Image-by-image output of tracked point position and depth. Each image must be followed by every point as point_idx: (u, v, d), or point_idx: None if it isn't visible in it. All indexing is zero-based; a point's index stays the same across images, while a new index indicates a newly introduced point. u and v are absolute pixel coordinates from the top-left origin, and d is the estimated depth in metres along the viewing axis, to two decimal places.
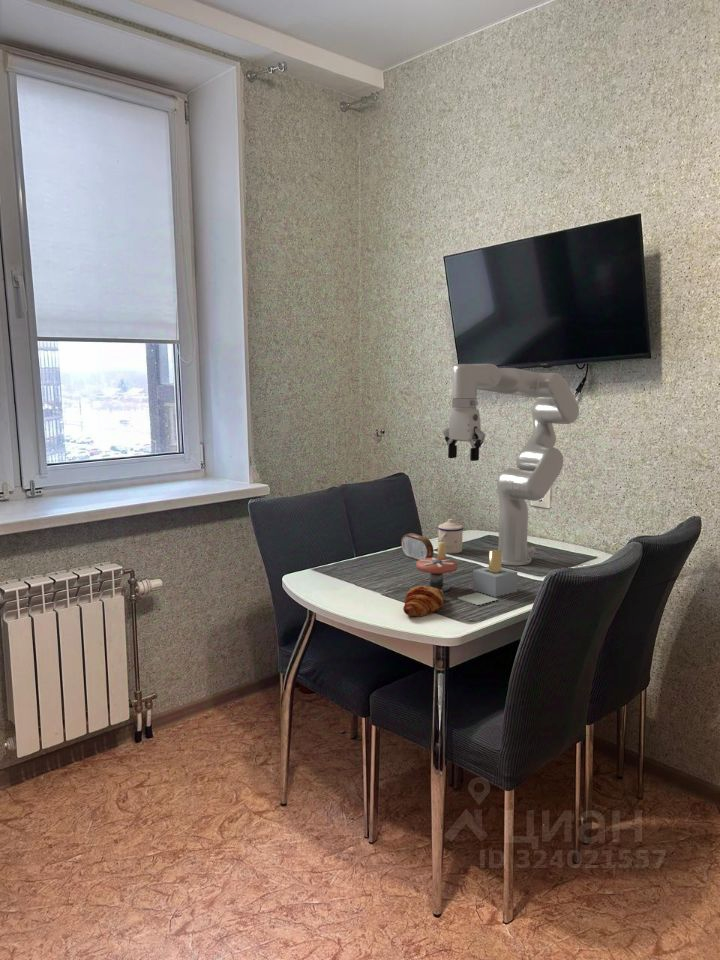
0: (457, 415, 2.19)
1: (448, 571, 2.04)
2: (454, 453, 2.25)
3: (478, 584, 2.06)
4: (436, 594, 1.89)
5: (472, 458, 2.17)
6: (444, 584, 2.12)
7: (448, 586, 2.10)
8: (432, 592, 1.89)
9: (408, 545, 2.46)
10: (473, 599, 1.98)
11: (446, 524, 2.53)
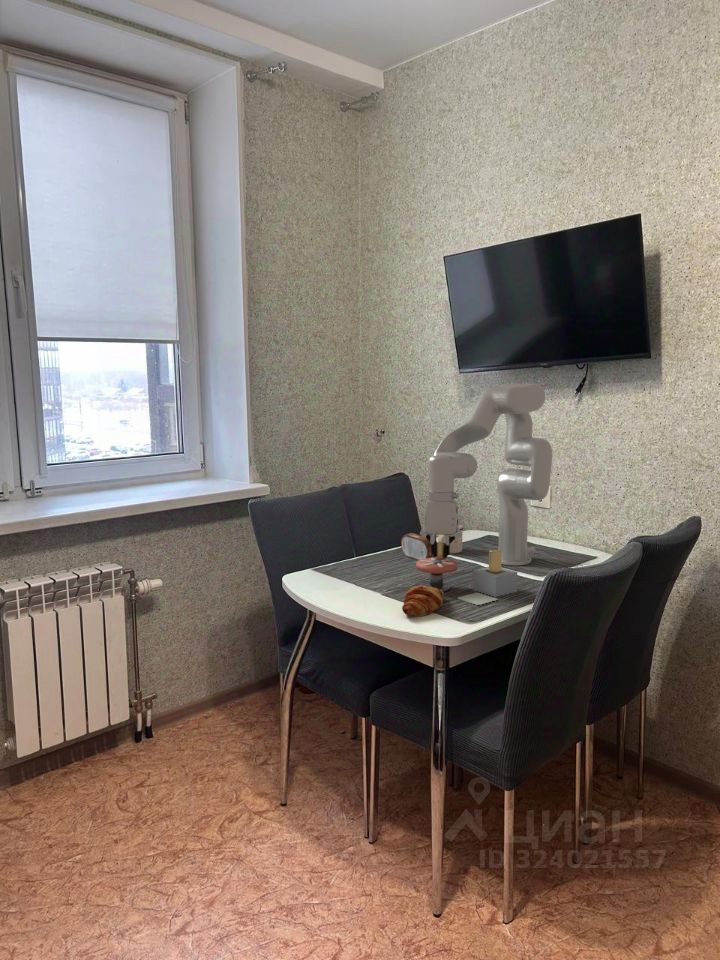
0: (438, 509, 2.09)
1: (449, 571, 2.04)
2: None
3: (478, 584, 2.06)
4: (435, 594, 1.89)
5: (445, 555, 2.12)
6: (444, 584, 2.12)
7: (448, 586, 2.10)
8: (431, 592, 1.89)
9: (408, 545, 2.46)
10: (473, 599, 1.98)
11: None
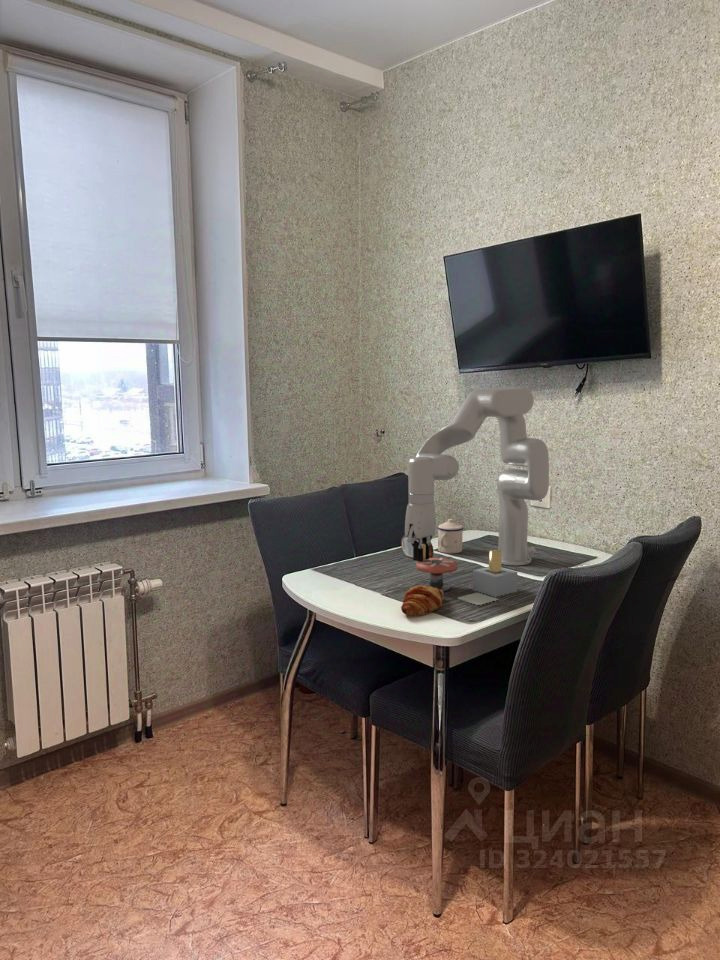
0: (428, 511, 2.07)
1: None
2: None
3: (478, 584, 2.06)
4: (435, 594, 1.89)
5: None
6: (444, 584, 2.12)
7: (448, 586, 2.10)
8: (430, 592, 1.89)
9: (408, 545, 2.46)
10: (473, 599, 1.98)
11: (446, 524, 2.53)
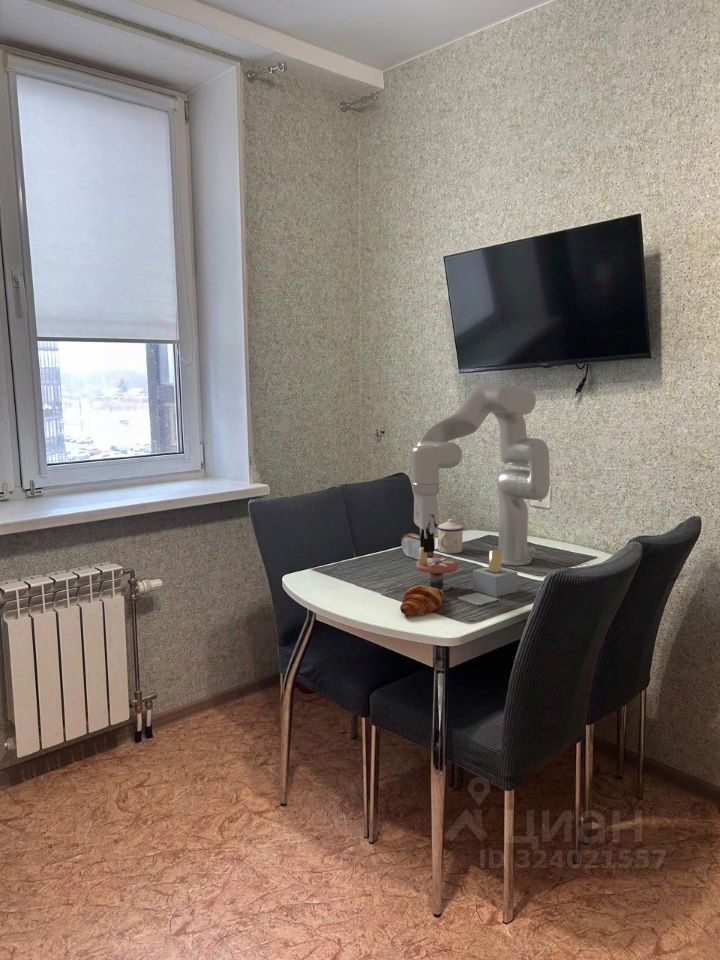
0: None
1: None
2: None
3: (478, 584, 2.06)
4: (434, 594, 1.89)
5: None
6: (444, 584, 2.12)
7: (448, 586, 2.10)
8: (430, 592, 1.89)
9: (408, 545, 2.46)
10: (473, 599, 1.98)
11: (446, 524, 2.53)
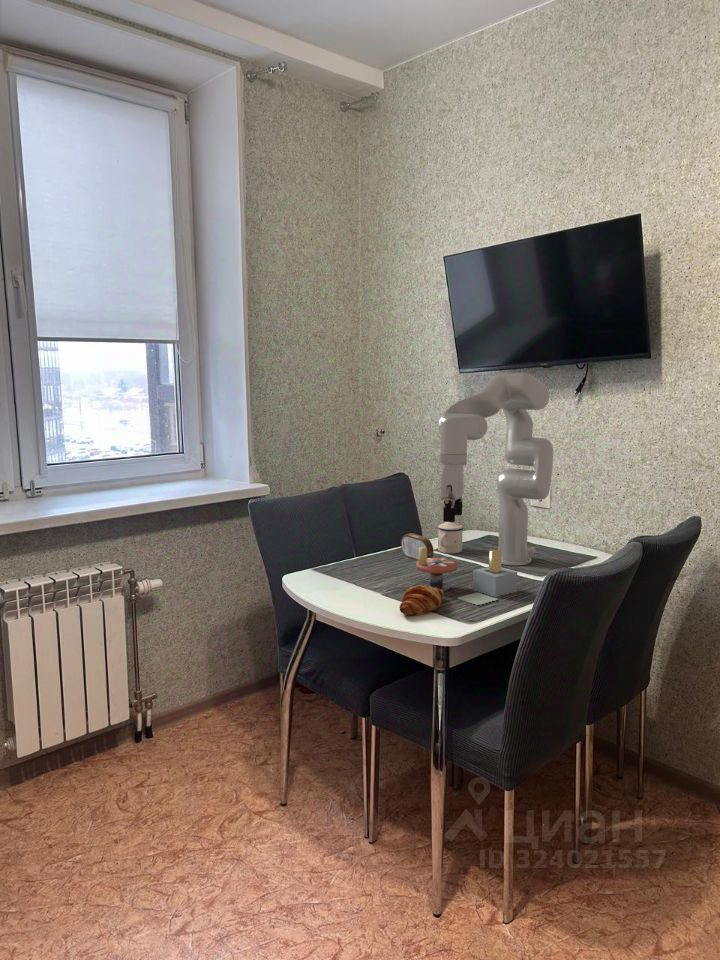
0: (462, 471, 2.01)
1: None
2: None
3: (478, 584, 2.06)
4: (433, 594, 1.89)
5: None
6: (444, 584, 2.12)
7: (448, 586, 2.10)
8: (429, 592, 1.89)
9: (408, 545, 2.46)
10: (473, 599, 1.98)
11: (446, 524, 2.53)
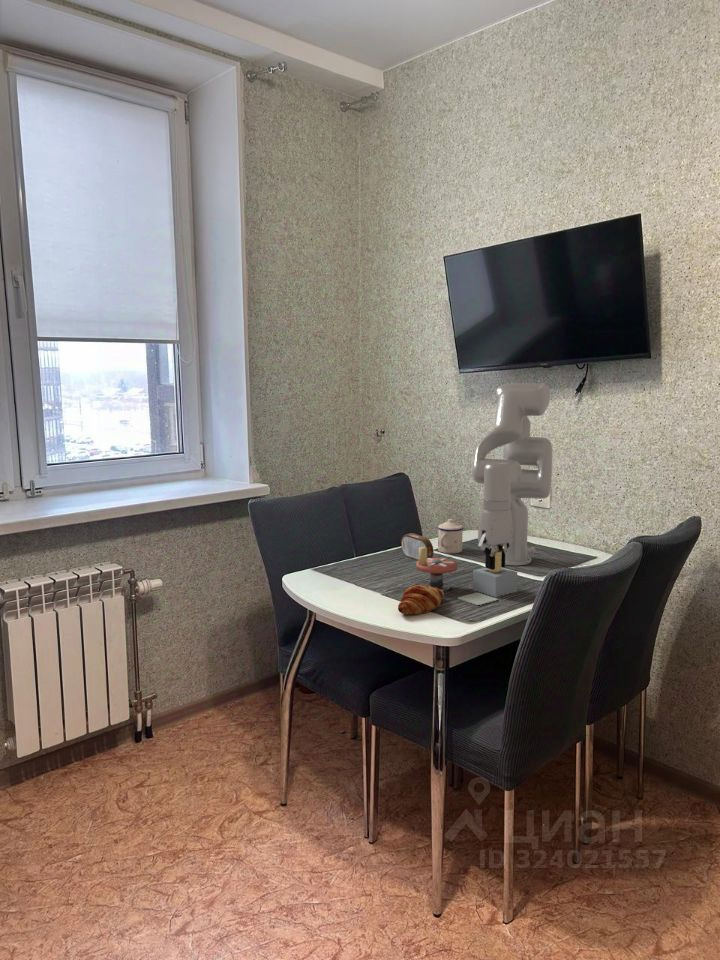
0: (502, 518, 2.02)
1: None
2: None
3: (478, 584, 2.06)
4: (432, 594, 1.89)
5: None
6: (444, 584, 2.12)
7: (448, 586, 2.10)
8: (428, 591, 1.89)
9: (408, 545, 2.46)
10: (473, 599, 1.98)
11: (446, 524, 2.53)
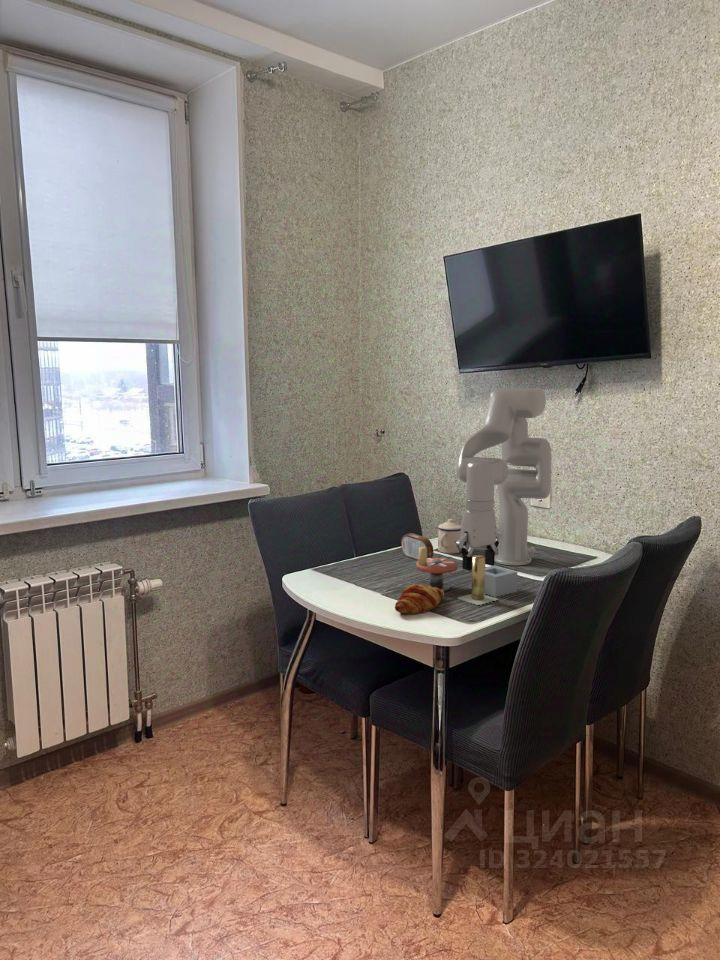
0: (485, 519, 1.94)
1: None
2: None
3: None
4: (430, 593, 1.89)
5: None
6: (444, 584, 2.12)
7: (448, 586, 2.10)
8: (426, 591, 1.90)
9: (408, 545, 2.46)
10: None
11: (446, 524, 2.53)
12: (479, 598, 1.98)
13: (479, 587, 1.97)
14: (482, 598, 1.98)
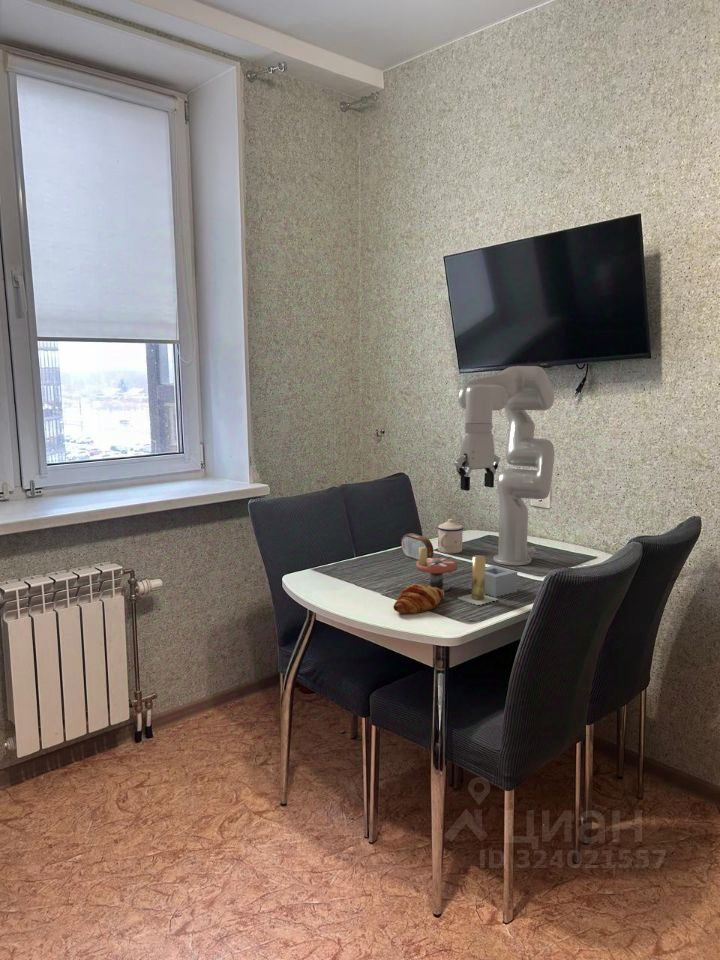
0: (484, 442, 2.00)
1: None
2: None
3: None
4: (429, 593, 1.90)
5: None
6: (444, 584, 2.12)
7: (448, 586, 2.10)
8: (425, 591, 1.90)
9: (408, 545, 2.46)
10: None
11: (446, 524, 2.53)
12: (479, 598, 1.98)
13: (479, 587, 1.97)
14: (482, 598, 1.98)
